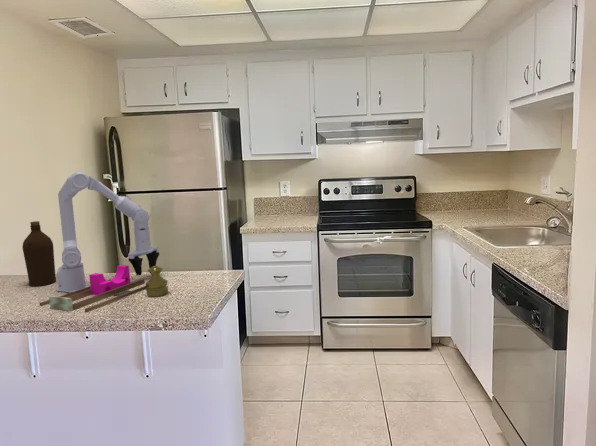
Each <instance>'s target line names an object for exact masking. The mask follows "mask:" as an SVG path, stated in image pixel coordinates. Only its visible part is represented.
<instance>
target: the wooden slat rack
mask: <svg viewBox="0 0 596 446" xmlns="http://www.w3.org/2000/svg"><path fill="white" fill-rule="evenodd" d="M110 280H112V278H111V279H107V281H110ZM144 284H146V282H145V278H140V279H138V280H136V281H132V282H130V283H129V284H126V285H124V286H121V287H118V288H115V289H113V290H110V291H107V292H104V293H101V294H99V295H92V294H91V286H90V285H88V286H89V287H86V288H83V289H80V290H77V291H74V292H67V293H66V294H62V295H59V296H57V295H56V296H54V295H50V296H48V300H44V301H41V302H39V307H43V306H46V305H49V308H50V309H52V310H53V309H54V310H60V311H61V310H62V311H67V312H73V311H75V310H78V309H80V308H83V307H85V306H89V305H91V304H93V303H96V304H93V305H91V306H89V307H86V308H84V312H85V313H88V312H91V311H93V310H97V309H98V308H101V307H103V306H106V305H108V304H111V303H114V302H116V301H118V300H122V299H125V298H126V297H129V296H132V295H134V294H136V293H139V292H142V291H144V290H146V289H147V287H146V285H144ZM141 285H143V286H141ZM138 286H140V287H138ZM136 287H138V288H136ZM133 288H135V289H133ZM130 289H133V290H130ZM88 296H90V297H88ZM112 296H114V297H112ZM85 297H88V298H85ZM109 297H112V298H110V299H107V300H104V299H106V298H109ZM82 298H85V299H82ZM80 299H82V300H80ZM77 300H79V301H77ZM102 300H104V301H102ZM74 301H77V302H75V303H73V302H74ZM98 301H99V302H100V301H102V302H100V303H97V302H98Z"/></svg>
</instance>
